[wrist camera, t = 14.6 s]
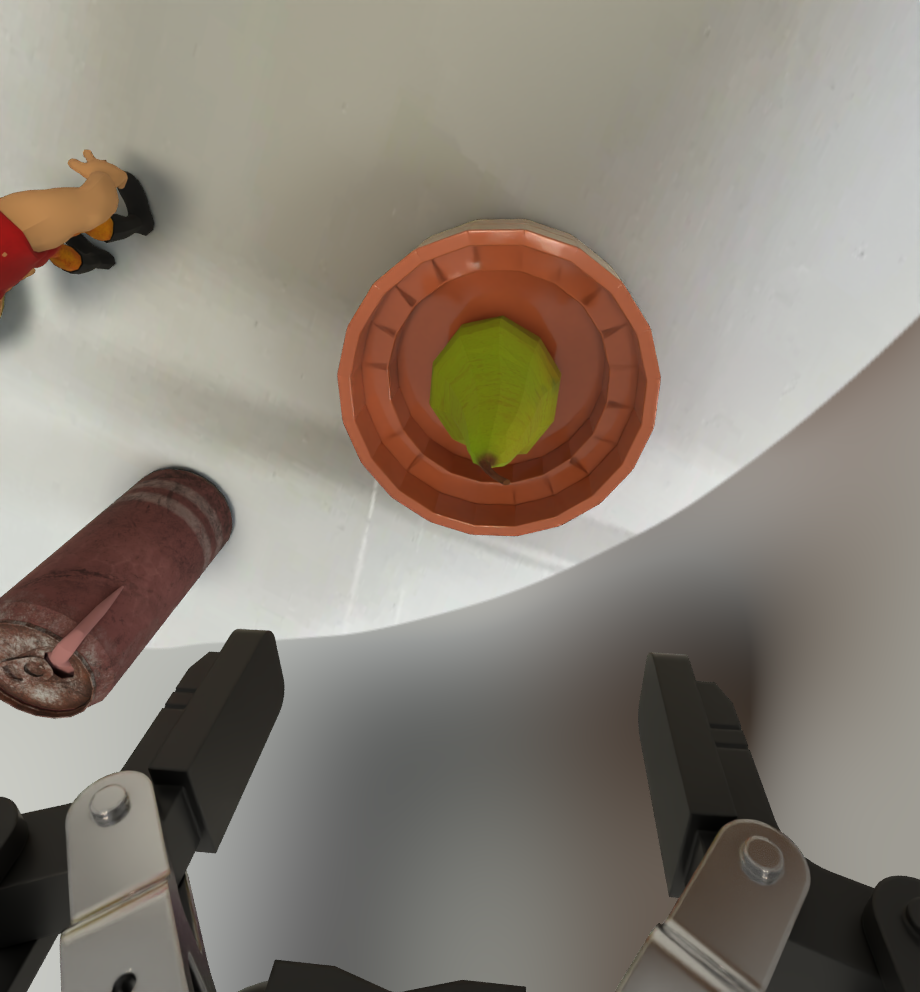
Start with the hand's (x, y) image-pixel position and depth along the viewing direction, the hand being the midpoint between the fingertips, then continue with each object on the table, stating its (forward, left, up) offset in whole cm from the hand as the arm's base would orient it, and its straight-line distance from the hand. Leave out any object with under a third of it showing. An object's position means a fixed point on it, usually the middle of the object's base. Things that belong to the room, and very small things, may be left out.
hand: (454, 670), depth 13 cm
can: (+19, +9, -22) cm, 30 cm away
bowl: (0, 0, -22) cm, 22 cm away
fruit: (0, 0, -21) cm, 21 cm away
